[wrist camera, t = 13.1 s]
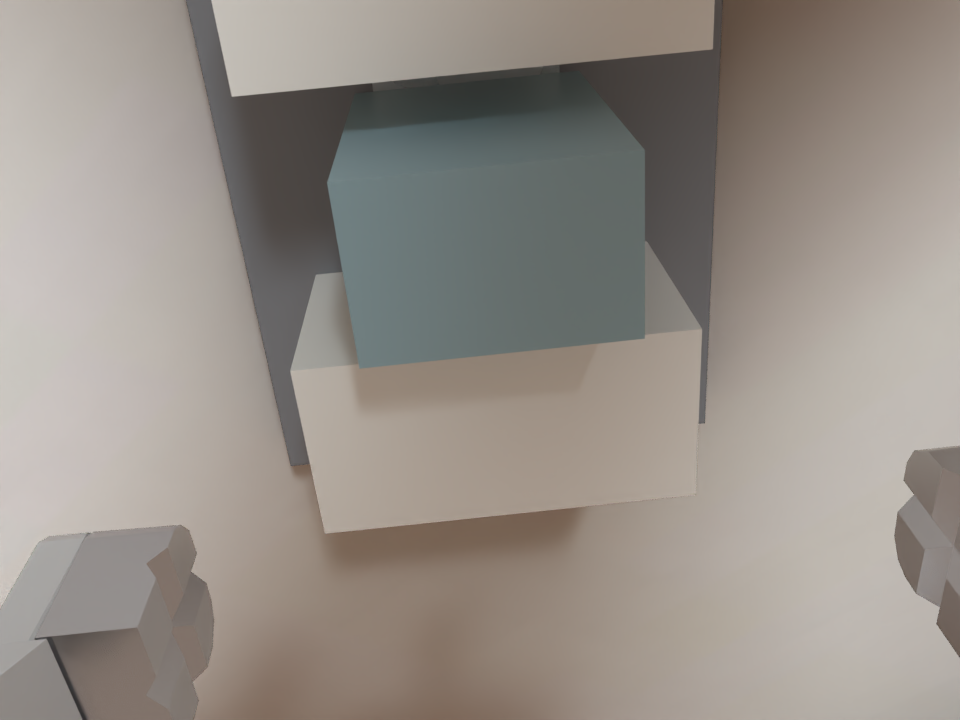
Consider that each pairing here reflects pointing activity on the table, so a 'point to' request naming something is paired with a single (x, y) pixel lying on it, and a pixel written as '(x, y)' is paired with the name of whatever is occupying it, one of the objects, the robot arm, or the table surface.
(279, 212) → the board
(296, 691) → the table surface
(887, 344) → the table surface
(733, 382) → the table surface
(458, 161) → the block
